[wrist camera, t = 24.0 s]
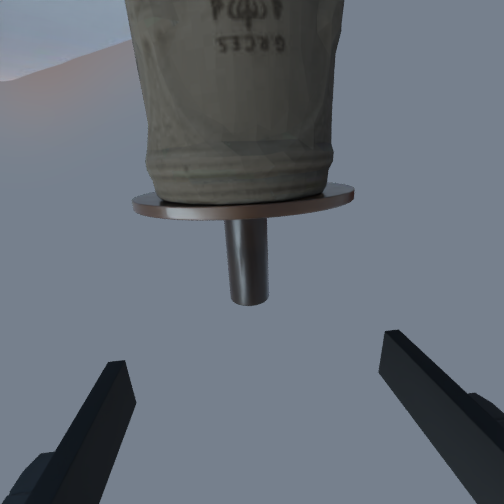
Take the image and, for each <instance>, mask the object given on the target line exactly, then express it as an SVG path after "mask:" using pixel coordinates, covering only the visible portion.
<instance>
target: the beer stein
mask: <svg viewBox="0 0 504 504" xmlns="http://www.w3.org/2000/svg"><path fill="white" fill-rule="evenodd" d="M125 4H126V9H127V15H128V20H129V26H130V31H131V36H132V42H133V47H134V52H135V58H136V63H137V68H138V73H139V79H140V83H141V89H142V94H143V99H144V104H145V109H146V114H147V120H148V147H147V154H146V161H145V162H146V167H147V171H148V172H149V175H150V177H151V178H152V180H153V183H154V187H155V190H156V194H157V196H158V197H159V198H160V199H161V200H164V201H166V202H172V203H182V204H192V205H228V204H248V203H261V202H274V201H285V200H293V199H300V198H304V197H308V196H312V195H316V194H319V193H322V192H323V191H324V189H325V187H326V185H327V177H328V170H329V167H330V166H331V163H332V162H333V153H334V152H333V149H332V145H331V122H332V101H333V84H334V67H335V53H336V49H337V45H338V42H339V38H340V34H341V23H342V14H343V7H344V0H125Z"/></svg>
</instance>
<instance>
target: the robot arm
mask: <svg viewBox="0 0 504 504" xmlns="http://www.w3.org/2000/svg"><path fill="white" fill-rule="evenodd" d="M379 374H380V375H381V376H382V378H383V379H384V380H385V382H386V383H387V384H388V386H389V387H390V388H391V390H392V391H393V392H394V394H395V395H396V396H397V398H398V399H399V400H400V401H401V403H402V404H403V406H404V407H405V408H406V410H407V411H408V412H409V413H410V415H411V416H412V418H413V419H414V420H415V422H416V423H417V424H418V426H419V427H420V428H421V429H422V431H423V432H424V434H425V435H426V436H427V437H428V439H429V440H430V442H431V443H432V444H433V446H434V447H435V448H436V450H437V451H438V452H439V454H440V455H441V456H442V458H443V459H444V460H445V462H446V463H447V464H448V465H449V467H450V468H451V469H452V471H453V472H454V473H455V475H456V476H457V478H458V479H459V480H460V482H461V483H462V484H463V485H464V487H465V488H466V489H467V491H468V492H469V493H470V495H471V496H472V497H473V499H474V500H475V501H476V503H477V504H504V413H503V412H502V411H501V410H499V409H498V408H497V407H496V406H495V405H494V404H493V403H491V402H490V401H488V400H486V399H485V398H483V397H481V396H480V395H478V394H476V393H469V394H467V393H466V392H465V391H464V390H463V389H462V388H461V387H460V386H459V385H458V384H457V383H455V382H454V381H453V380H452V379H451V378H450V377H449V376H448V375H447V374H446V373H445V372H444V371H443V370H441V369H440V368H439V367H438V366H437V365H436V364H435V363H434V362H433V361H432V360H431V359H430V358H429V357H427V356H426V355H425V354H424V353H423V352H422V351H421V350H420V349H419V348H418V347H417V346H416V345H415V344H413V343H412V342H411V341H410V340H409V339H408V338H407V337H406V336H405V335H404V334H403V333H402V332H401V331H399V330H391V331H385V334H384V341H383V347H382V353H381V359H380V366H379ZM135 405H136V400H135V396H134V392H133V388H132V385H131V381H130V377H129V374H128V370H127V366H126V362H125V360H122V361H113V362H108V363H107V365H106V367H105V368H104V370H103V372H102V373H101V375H100V377H99V378H98V380H97V382H96V383H95V385H94V387H93V388H92V390H91V392H90V394H89V395H88V397H87V399H86V400H85V402H84V404H83V405H82V407H81V409H80V410H79V412H78V414H77V416H76V417H75V419H74V420H73V422H72V424H71V426H70V427H69V429H68V431H67V433H66V434H65V436H64V437H63V439H62V441H61V442H60V444H59V446H58V447H57V449H56V451H55V452H49V453H41V454H40V455H39V456H38V457H37V458H36V459H35V460H34V461H33V462H32V463H31V464H30V465H29V466H28V467H27V468H26V469H25V470H24V471H23V473H22V474H21V475H20V477H19V479H18V480H17V481H16V483H15V485H14V486H13V488H12V489H11V491H10V494H9V495H8V496H7V497H6V498H5V500H4V501H3V503H2V504H99V502H100V500H101V497H102V494H103V491H104V489H105V486H106V483H107V481H108V478H109V475H110V473H111V470H112V467H113V465H114V462H115V459H116V457H117V454H118V451H119V449H120V445H121V443H122V440H123V438H124V435H125V432H126V430H127V427H128V424H129V421H130V419H131V416H132V414H133V411H134V408H135Z"/></svg>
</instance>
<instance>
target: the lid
mask: <svg viewBox="0 0 504 504" xmlns="http://www.w3.org/2000/svg"><path fill="white" fill-rule="evenodd" d="M353 199H354V187H352V186H349V185H345V184H338V183H327V185H326V187H325V189H324V191H323V192H322V193H319V194H316V195H312V196H308V197H304V198H300V199H293V200H285V201H274V202H261V203H248V204H228V205H192V204H182V203H172V202H166V201H164V200H161V199H160V198H159V197H158V196H157V194H156V192H152V193H148V194H143V195H140V196H137V197H135V198H133V199H132V204H133V209H134V211H135V212H136V213H138V214H140V215H144V216H148V217H154V218H162V219H174V220H224V222H225V223H224V224H225V234H226V246H227V258H228V270H229V281H230V293H231V299H232V300H233V302H235V303H236V304H239V305H243V306H253V305H258V304H261V303H263V302H265V301H266V300H267V299H268V297H269V282H268V249H267V218H269V217H281V216H289V215H298V214H305V213H312V212H317V211H322V210H328V209H332V208H336V207H339V206H342V205H345V204H347V203H349V202H351V201H352V200H353Z"/></svg>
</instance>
